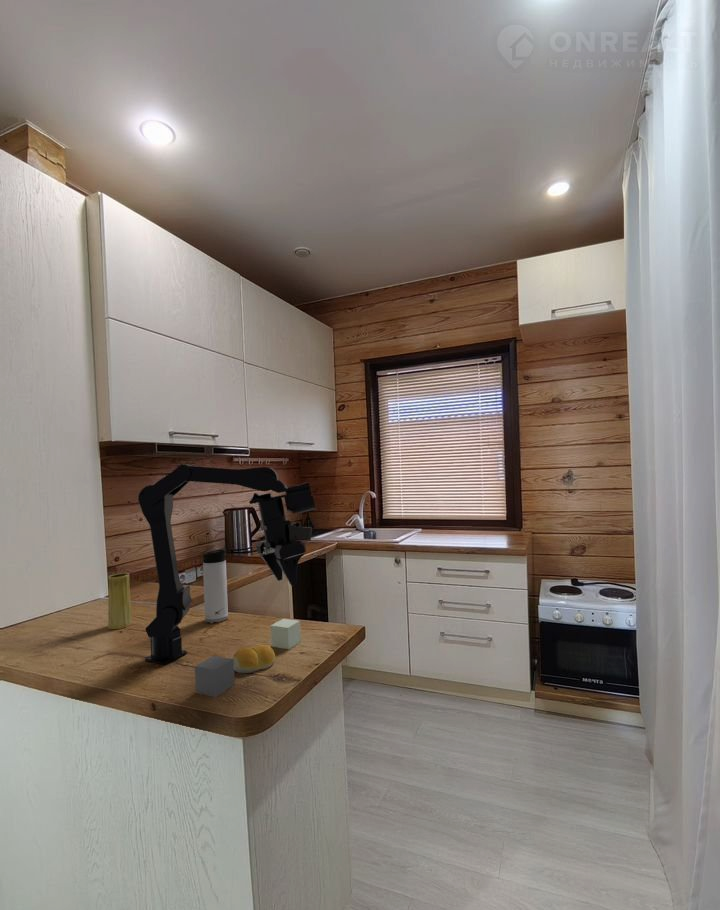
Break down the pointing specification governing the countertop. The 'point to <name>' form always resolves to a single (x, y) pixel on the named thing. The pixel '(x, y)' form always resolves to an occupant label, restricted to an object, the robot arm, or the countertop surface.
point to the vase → (119, 601)
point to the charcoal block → (214, 675)
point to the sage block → (285, 633)
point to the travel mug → (215, 586)
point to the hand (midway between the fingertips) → (286, 582)
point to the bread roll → (253, 658)
